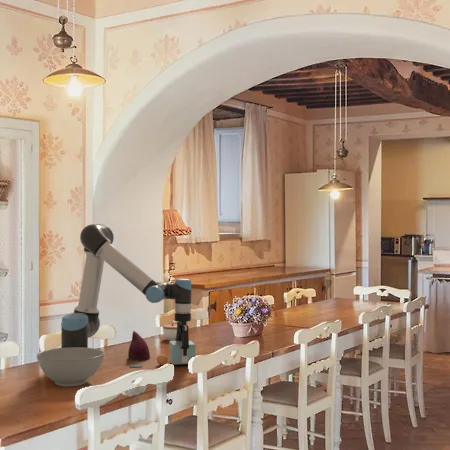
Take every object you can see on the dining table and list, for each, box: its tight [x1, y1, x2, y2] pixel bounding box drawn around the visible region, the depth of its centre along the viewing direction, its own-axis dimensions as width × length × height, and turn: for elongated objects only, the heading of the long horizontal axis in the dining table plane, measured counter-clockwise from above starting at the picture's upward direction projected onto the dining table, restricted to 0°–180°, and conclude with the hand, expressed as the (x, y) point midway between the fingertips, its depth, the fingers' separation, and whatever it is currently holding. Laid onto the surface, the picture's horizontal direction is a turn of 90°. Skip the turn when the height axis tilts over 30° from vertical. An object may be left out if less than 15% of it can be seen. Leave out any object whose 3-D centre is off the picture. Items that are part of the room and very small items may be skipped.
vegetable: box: [127, 330, 151, 361], centre depth 330 cm, size 10×10×15 cm
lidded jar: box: [162, 322, 177, 341], centre depth 381 cm, size 11×11×9 cm
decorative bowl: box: [36, 347, 105, 387], centre depth 280 cm, size 27×27×12 cm
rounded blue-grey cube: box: [168, 339, 196, 365], centre depth 318 cm, size 10×10×9 cm
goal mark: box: [128, 364, 143, 369], centre depth 312 cm, size 6×6×1 cm
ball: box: [156, 353, 169, 366], centre depth 315 cm, size 5×5×5 cm
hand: (181, 360), depth 318 cm, fingers closed on rounded blue-grey cube, 10 cm apart
